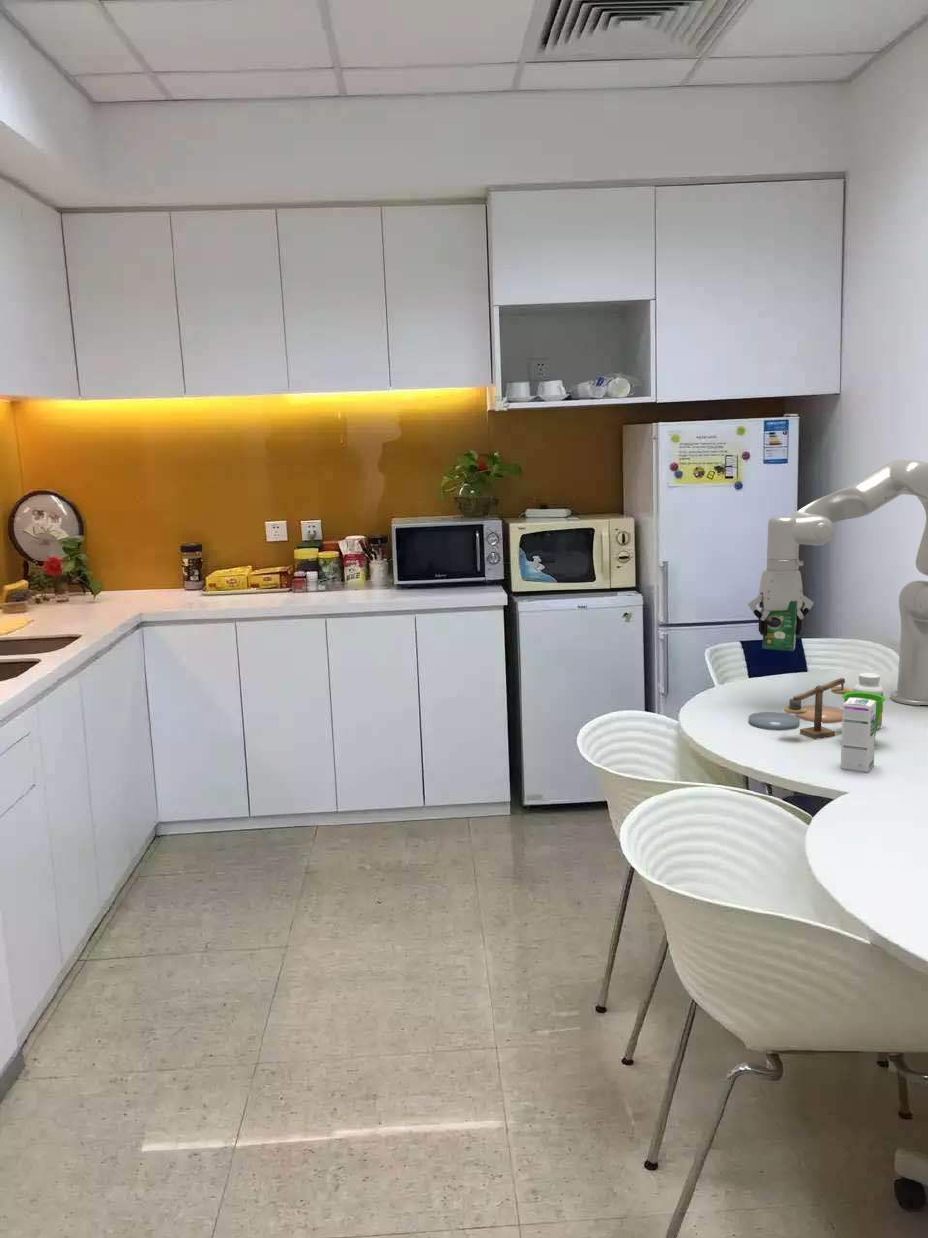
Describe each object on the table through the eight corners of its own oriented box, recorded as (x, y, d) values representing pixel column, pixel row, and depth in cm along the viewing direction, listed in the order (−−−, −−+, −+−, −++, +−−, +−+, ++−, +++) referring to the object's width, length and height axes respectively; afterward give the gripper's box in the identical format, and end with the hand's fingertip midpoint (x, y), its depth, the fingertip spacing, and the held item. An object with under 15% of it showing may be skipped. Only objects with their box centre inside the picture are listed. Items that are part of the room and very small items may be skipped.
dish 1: (787, 715, 253) (787, 710, 253) (807, 729, 242) (808, 724, 241) (741, 717, 252) (741, 713, 252) (759, 731, 240) (760, 726, 240)
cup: (881, 739, 233) (883, 693, 231) (883, 750, 224) (886, 703, 222) (839, 736, 236) (841, 690, 234) (840, 747, 227) (842, 700, 225)
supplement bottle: (884, 731, 239) (887, 678, 236) (854, 730, 240) (857, 678, 238) (878, 723, 245) (881, 672, 243) (849, 722, 246) (852, 671, 244)
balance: (840, 727, 242) (843, 674, 240) (856, 732, 238) (858, 679, 236) (778, 737, 236) (780, 683, 233) (792, 743, 231) (794, 688, 229)
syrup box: (868, 773, 210) (872, 705, 208) (839, 768, 213) (842, 702, 211) (874, 765, 215) (877, 699, 212) (845, 761, 218) (848, 696, 215)
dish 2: (832, 708, 259) (832, 704, 258) (855, 721, 247) (855, 716, 247) (787, 710, 257) (788, 706, 257) (808, 723, 246) (808, 719, 246)
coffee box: (796, 649, 254) (798, 598, 252) (794, 652, 252) (796, 600, 250) (764, 647, 258) (766, 596, 256) (761, 649, 256) (763, 598, 254)
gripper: (809, 562, 256) (806, 630, 259) (743, 564, 254) (740, 632, 257) (822, 566, 248) (819, 636, 251) (753, 568, 247) (751, 638, 250)
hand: (779, 634), depth 254 cm, fingers closed on coffee box, 7 cm apart
